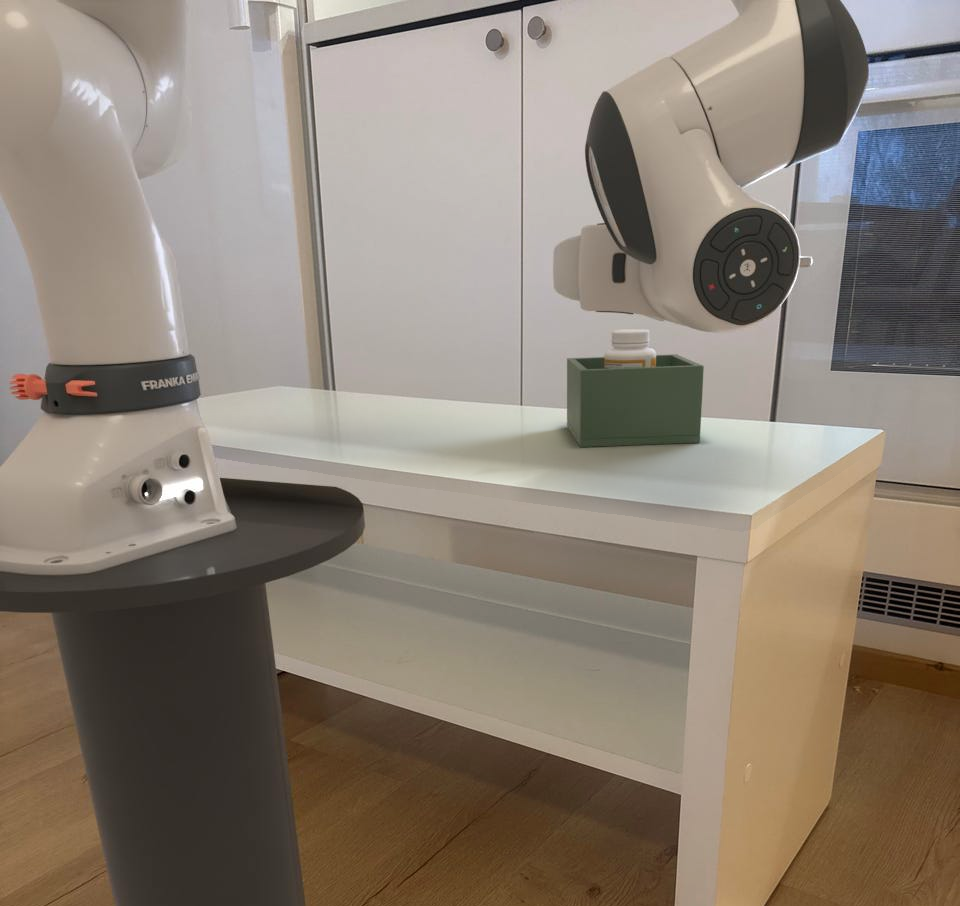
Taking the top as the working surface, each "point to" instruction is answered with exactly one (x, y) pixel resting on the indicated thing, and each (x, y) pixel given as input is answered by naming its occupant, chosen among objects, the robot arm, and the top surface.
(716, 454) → the top surface
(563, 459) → the top surface
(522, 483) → the top surface
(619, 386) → the storage box
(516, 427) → the top surface
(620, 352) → the supplement bottle
